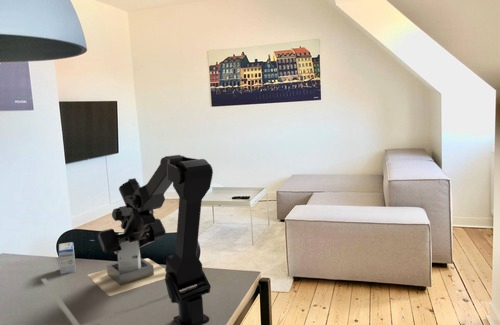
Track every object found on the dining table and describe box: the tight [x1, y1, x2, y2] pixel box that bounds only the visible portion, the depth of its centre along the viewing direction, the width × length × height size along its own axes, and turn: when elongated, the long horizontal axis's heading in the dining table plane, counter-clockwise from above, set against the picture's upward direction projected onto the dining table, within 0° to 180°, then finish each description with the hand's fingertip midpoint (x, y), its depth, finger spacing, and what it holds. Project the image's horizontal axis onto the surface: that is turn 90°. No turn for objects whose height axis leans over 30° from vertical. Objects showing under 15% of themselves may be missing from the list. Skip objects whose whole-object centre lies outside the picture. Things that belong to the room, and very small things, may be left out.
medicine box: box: [58, 241, 77, 275], centre depth 129 cm, size 8×4×9 cm, turn 25°
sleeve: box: [106, 257, 154, 285], centre depth 122 cm, size 10×10×3 cm
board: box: [87, 258, 166, 297], centre depth 122 cm, size 20×20×1 cm
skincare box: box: [116, 232, 141, 273], centre depth 121 cm, size 6×4×12 cm
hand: (126, 249), depth 122 cm, fingers open, 7 cm apart
